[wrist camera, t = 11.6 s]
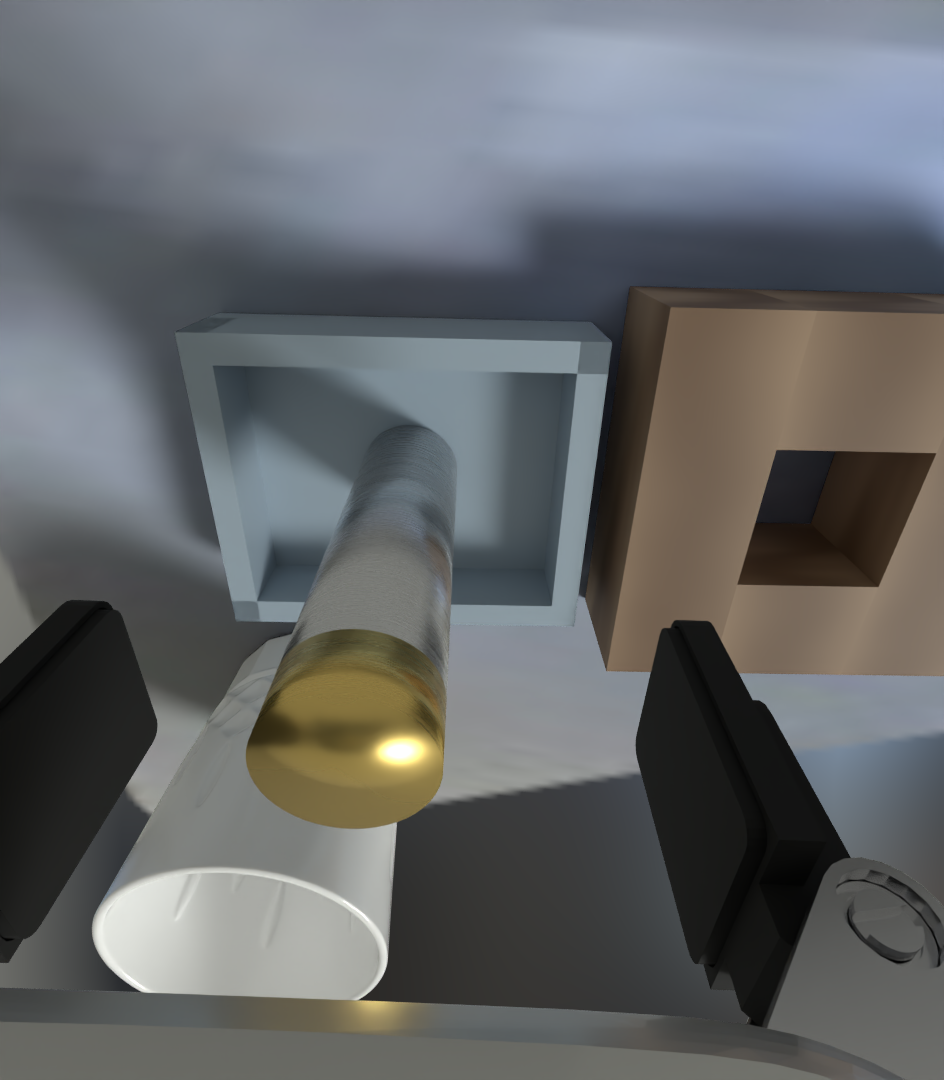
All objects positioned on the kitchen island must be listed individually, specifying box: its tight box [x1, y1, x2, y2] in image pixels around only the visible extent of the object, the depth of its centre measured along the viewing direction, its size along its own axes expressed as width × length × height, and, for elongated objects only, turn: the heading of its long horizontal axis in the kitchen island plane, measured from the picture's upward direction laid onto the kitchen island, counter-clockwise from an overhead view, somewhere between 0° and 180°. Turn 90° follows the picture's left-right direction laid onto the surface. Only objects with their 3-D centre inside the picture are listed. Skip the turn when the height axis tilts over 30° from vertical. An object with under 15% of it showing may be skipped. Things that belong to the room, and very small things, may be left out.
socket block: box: [585, 286, 944, 676], centre depth 18 cm, size 11×11×4 cm
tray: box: [174, 313, 612, 627], centre depth 18 cm, size 11×9×3 cm
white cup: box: [92, 634, 397, 1000], centre depth 21 cm, size 8×8×10 cm
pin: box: [246, 425, 457, 829], centre depth 14 cm, size 3×3×12 cm
